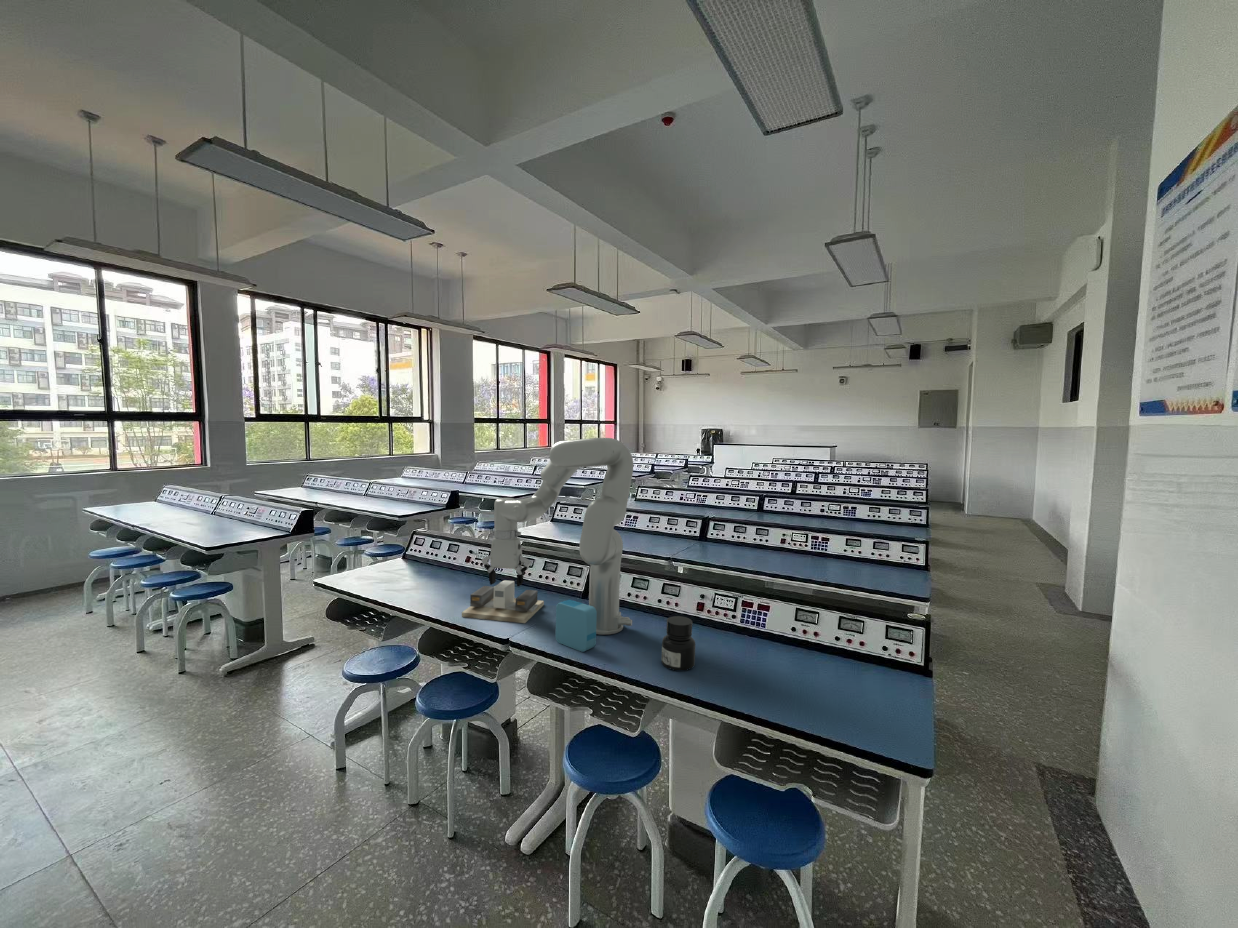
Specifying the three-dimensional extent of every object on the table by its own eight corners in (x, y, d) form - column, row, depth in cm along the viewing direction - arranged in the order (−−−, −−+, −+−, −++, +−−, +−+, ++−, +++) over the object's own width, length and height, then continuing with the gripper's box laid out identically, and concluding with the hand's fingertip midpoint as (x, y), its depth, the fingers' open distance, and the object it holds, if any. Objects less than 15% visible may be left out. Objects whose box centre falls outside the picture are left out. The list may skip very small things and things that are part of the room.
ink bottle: (655, 658, 139) (656, 616, 138) (683, 654, 142) (685, 612, 141) (671, 674, 130) (673, 629, 129) (701, 670, 133) (703, 625, 132)
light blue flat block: (596, 648, 144) (597, 607, 143) (585, 653, 141) (586, 611, 140) (565, 637, 152) (566, 598, 151) (555, 641, 148) (555, 601, 147)
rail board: (543, 604, 179) (544, 587, 179) (525, 623, 162) (525, 603, 161) (485, 599, 183) (486, 582, 183) (461, 616, 166) (461, 597, 165)
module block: (514, 600, 176) (514, 581, 175) (504, 608, 168) (504, 587, 167) (503, 599, 176) (503, 580, 176) (493, 607, 168) (493, 586, 168)
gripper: (534, 533, 173) (534, 582, 174) (486, 531, 176) (487, 579, 177) (526, 537, 165) (526, 589, 166) (477, 535, 169) (477, 586, 170)
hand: (506, 584), depth 172 cm, fingers open, 9 cm apart
